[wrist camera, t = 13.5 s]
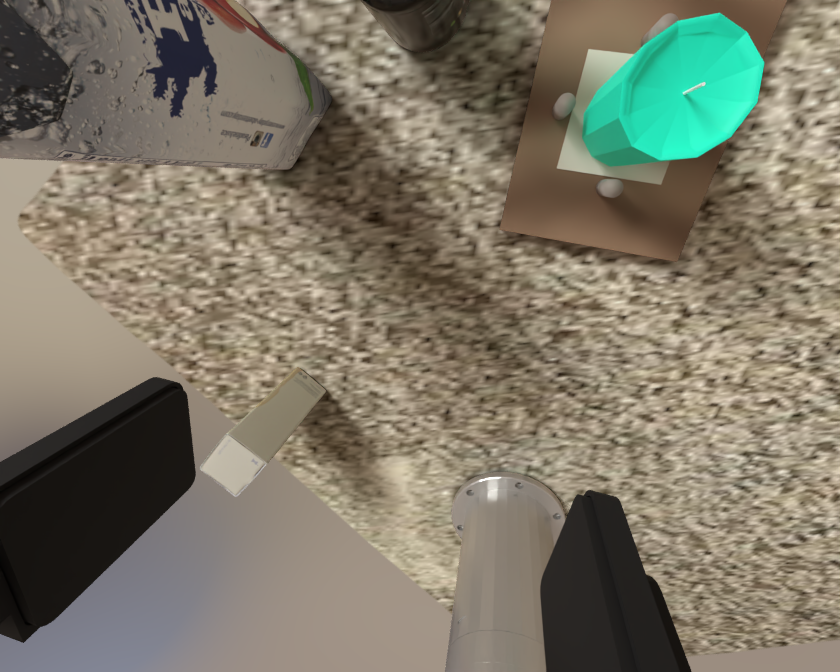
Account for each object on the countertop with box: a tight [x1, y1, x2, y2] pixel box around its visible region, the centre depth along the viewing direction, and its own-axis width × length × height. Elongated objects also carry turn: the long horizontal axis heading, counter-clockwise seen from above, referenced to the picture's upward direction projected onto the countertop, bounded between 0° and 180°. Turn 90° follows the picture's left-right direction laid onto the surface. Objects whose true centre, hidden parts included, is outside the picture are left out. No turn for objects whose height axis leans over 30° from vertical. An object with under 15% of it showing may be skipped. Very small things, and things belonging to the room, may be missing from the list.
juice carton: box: [0, 0, 332, 170], centre depth 21 cm, size 9×10×27 cm
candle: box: [582, 13, 764, 167], centre depth 22 cm, size 6×6×12 cm
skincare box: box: [200, 367, 326, 497], centre depth 39 cm, size 6×4×12 cm
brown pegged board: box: [500, 0, 787, 262], centre depth 27 cm, size 18×14×4 cm
